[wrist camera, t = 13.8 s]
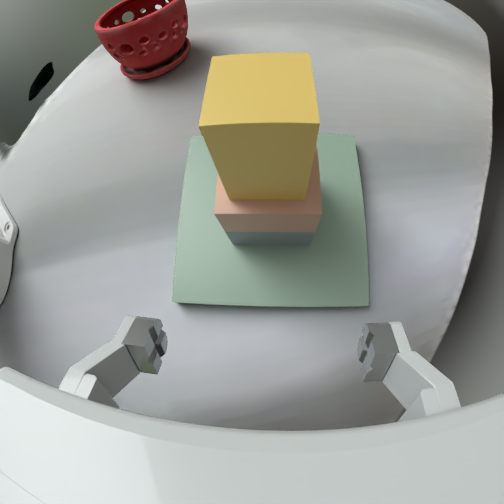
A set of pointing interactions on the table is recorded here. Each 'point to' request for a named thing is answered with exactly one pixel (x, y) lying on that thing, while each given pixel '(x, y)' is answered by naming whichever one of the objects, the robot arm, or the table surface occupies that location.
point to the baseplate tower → (274, 237)
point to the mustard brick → (261, 124)
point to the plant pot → (145, 36)
